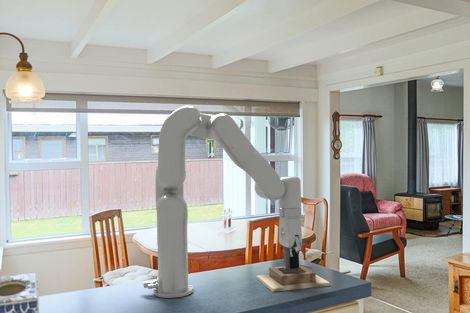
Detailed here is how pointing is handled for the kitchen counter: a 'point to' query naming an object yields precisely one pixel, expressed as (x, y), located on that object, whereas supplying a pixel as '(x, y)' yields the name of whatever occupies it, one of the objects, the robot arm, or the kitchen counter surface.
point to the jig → (291, 279)
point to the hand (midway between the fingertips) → (291, 266)
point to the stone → (287, 263)
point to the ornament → (301, 257)
